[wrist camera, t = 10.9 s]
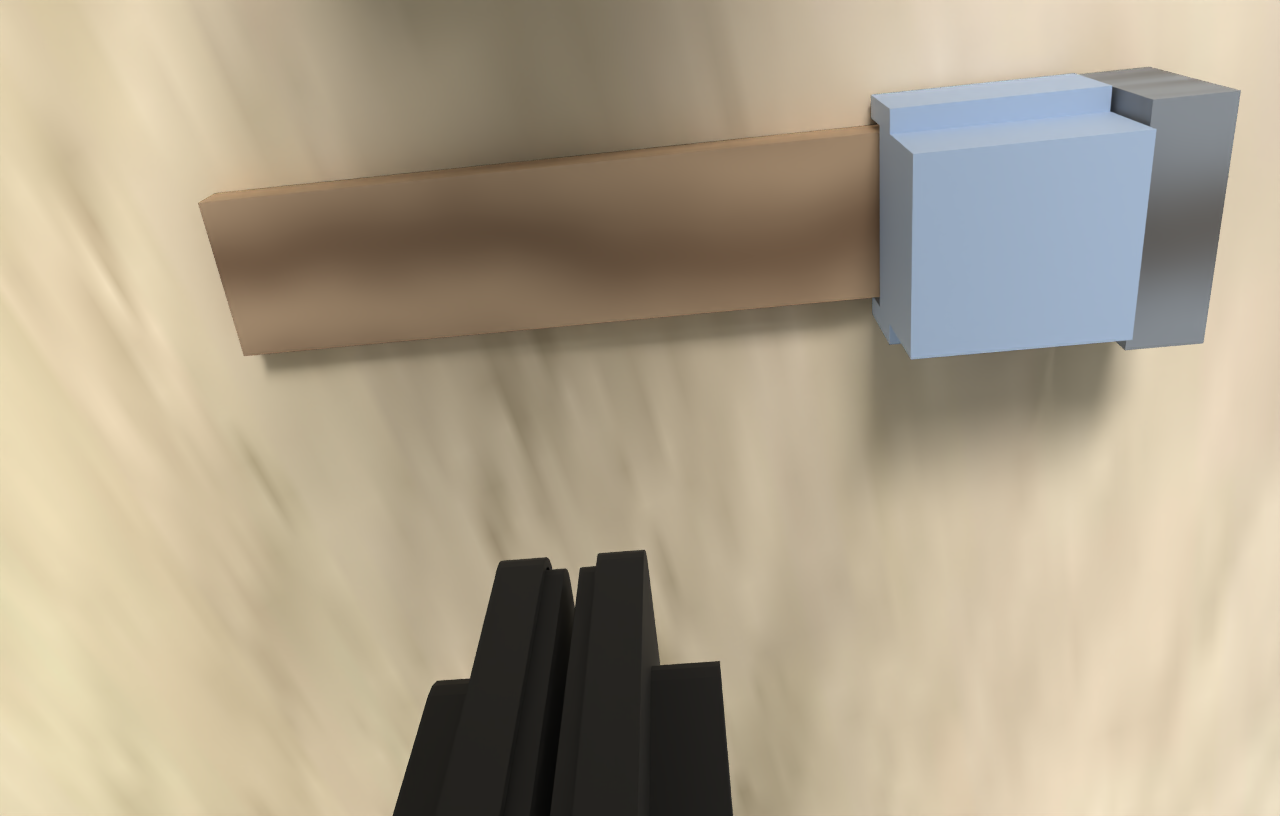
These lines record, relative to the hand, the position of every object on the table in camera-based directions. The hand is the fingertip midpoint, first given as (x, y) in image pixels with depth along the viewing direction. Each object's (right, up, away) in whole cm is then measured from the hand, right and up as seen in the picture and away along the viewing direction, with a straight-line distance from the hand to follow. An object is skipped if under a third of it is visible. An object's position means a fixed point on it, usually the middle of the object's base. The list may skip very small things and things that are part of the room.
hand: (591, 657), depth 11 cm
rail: (+2, +10, +26) cm, 27 cm away
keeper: (+13, +11, +25) cm, 30 cm away
